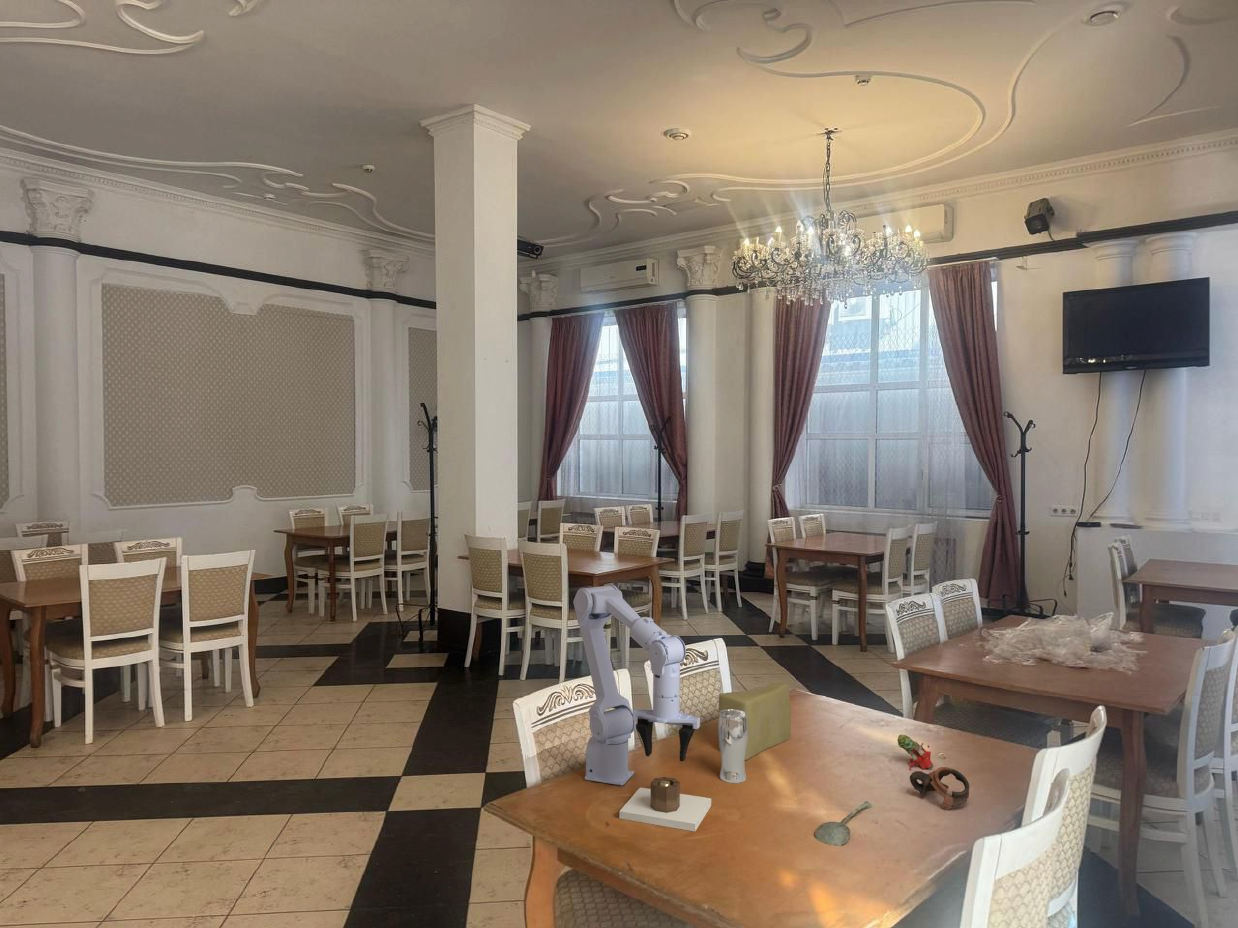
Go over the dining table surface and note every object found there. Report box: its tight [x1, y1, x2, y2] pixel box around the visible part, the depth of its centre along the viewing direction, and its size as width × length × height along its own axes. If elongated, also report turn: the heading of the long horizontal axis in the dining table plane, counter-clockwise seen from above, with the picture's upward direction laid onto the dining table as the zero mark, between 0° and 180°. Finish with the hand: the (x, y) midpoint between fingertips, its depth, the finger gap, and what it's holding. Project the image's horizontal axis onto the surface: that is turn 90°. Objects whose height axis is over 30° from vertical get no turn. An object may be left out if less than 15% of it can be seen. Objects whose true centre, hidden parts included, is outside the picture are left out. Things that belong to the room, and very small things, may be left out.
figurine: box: [896, 734, 934, 771], centre depth 196 cm, size 7×9×10 cm
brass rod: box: [660, 781, 670, 786], centre depth 168 cm, size 2×2×6 cm
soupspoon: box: [814, 800, 873, 847], centre depth 164 cm, size 22×3×7 cm
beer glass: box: [717, 709, 748, 784], centre depth 187 cm, size 7×7×15 cm
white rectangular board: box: [618, 786, 712, 832], centre depth 169 cm, size 16×13×2 cm
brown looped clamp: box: [909, 766, 970, 811], centre depth 175 cm, size 12×10×8 cm
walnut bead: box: [650, 776, 681, 813], centre depth 168 cm, size 6×6×5 cm
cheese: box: [718, 682, 792, 761], centre depth 208 cm, size 22×10×15 cm, turn 129°
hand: (665, 757), depth 173 cm, fingers open, 7 cm apart
